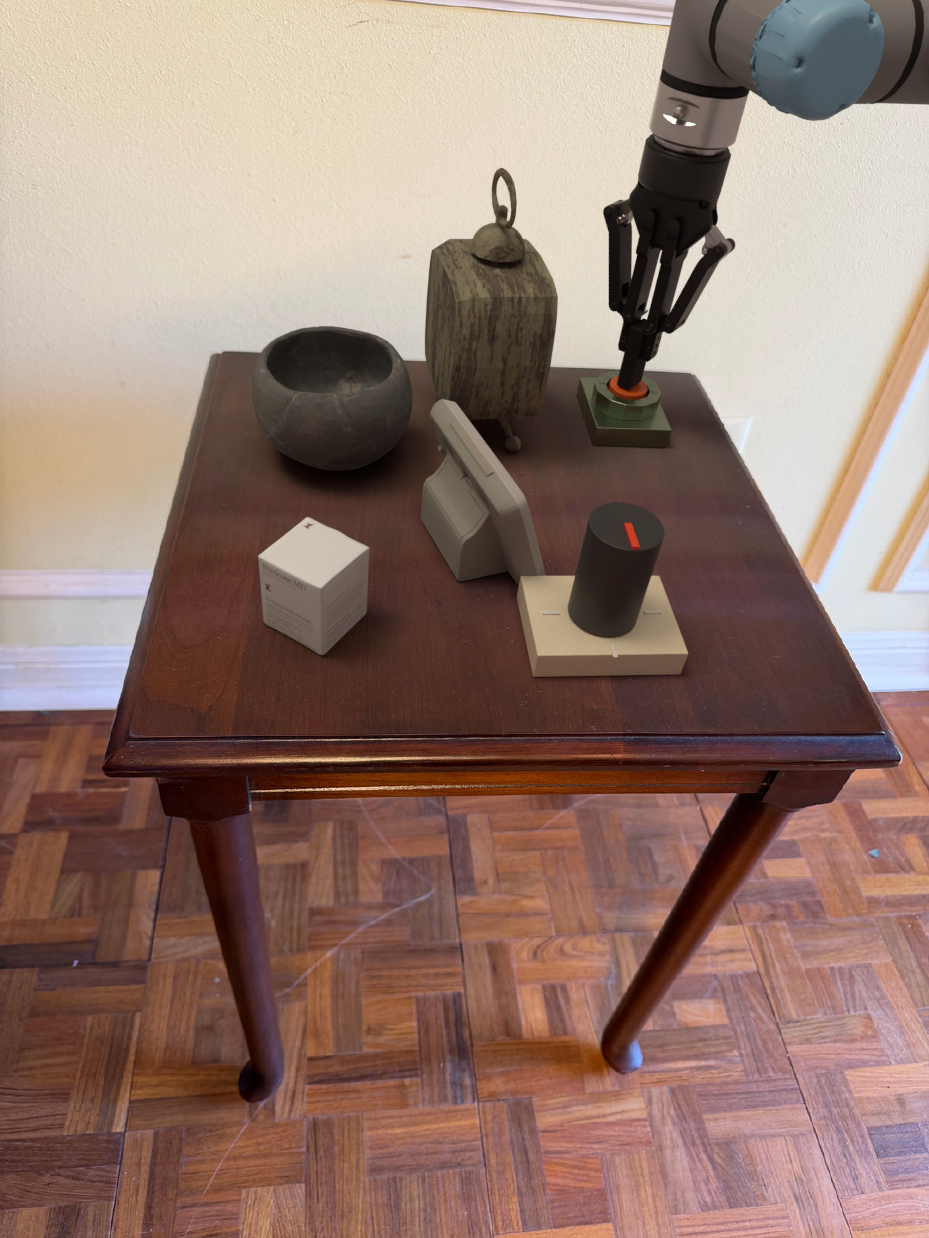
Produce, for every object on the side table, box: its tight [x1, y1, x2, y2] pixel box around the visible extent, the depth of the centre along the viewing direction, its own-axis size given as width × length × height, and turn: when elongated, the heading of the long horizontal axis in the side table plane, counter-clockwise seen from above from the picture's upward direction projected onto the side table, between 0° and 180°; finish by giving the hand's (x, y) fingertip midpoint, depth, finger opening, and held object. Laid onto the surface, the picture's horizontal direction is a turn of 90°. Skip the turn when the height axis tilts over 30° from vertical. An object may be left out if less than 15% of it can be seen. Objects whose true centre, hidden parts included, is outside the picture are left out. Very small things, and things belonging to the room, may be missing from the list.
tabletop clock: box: [424, 167, 559, 453], centre depth 85 cm, size 14×9×25 cm, turn 13°
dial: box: [568, 501, 666, 638], centre depth 68 cm, size 6×6×9 cm
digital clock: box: [420, 399, 546, 587], centre depth 77 cm, size 16×9×11 cm, turn 12°
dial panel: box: [516, 575, 689, 678], centre depth 73 cm, size 12×10×3 cm
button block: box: [576, 370, 673, 448], centre depth 96 cm, size 10×8×4 cm
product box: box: [257, 516, 371, 656], centre depth 69 cm, size 6×6×7 cm
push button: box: [608, 376, 647, 400], centre depth 95 cm, size 4×4×2 cm
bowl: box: [251, 325, 413, 472], centre depth 85 cm, size 15×15×10 cm
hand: (629, 382), depth 94 cm, fingers closed
